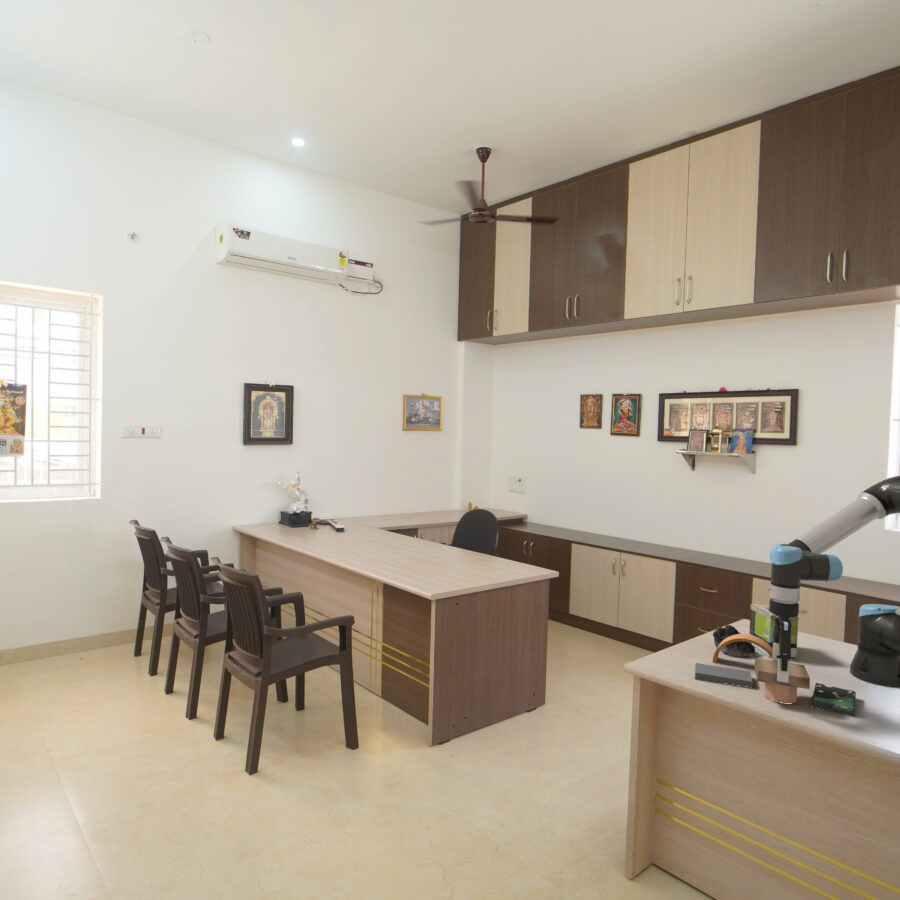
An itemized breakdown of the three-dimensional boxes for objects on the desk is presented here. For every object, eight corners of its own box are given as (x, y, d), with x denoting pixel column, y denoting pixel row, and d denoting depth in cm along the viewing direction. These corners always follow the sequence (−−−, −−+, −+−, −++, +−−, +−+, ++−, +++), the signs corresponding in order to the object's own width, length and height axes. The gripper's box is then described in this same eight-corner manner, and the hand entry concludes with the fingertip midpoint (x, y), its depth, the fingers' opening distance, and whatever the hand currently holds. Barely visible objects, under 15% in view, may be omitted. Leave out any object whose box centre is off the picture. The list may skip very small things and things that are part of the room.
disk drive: (814, 691, 188) (811, 708, 176) (814, 682, 188) (811, 698, 176) (855, 700, 183) (854, 718, 170) (855, 691, 183) (855, 708, 170)
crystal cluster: (755, 650, 223) (754, 622, 224) (755, 659, 211) (754, 629, 212) (714, 647, 229) (713, 619, 230) (712, 655, 217) (711, 626, 218)
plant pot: (793, 695, 184) (794, 675, 183) (797, 706, 176) (798, 685, 176) (763, 690, 187) (764, 670, 186) (765, 701, 179) (766, 680, 179)
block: (750, 677, 197) (750, 671, 196) (752, 688, 188) (752, 681, 188) (695, 669, 202) (695, 662, 202) (694, 679, 194) (695, 672, 194)
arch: (779, 676, 198) (781, 645, 198) (712, 662, 209) (713, 633, 209) (781, 670, 203) (782, 640, 203) (715, 657, 214) (716, 628, 214)
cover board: (803, 675, 184) (804, 665, 184) (809, 689, 174) (809, 678, 174) (754, 667, 189) (754, 657, 189) (757, 681, 179) (757, 670, 178)
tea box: (797, 658, 215) (799, 615, 214) (768, 657, 215) (770, 614, 214) (775, 643, 230) (777, 603, 229) (747, 642, 230) (749, 602, 229)
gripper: (765, 589, 193) (761, 657, 194) (774, 609, 170) (769, 686, 171) (793, 592, 191) (789, 661, 191) (805, 613, 167) (800, 691, 168)
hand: (779, 673), depth 181 cm, fingers open, 13 cm apart
